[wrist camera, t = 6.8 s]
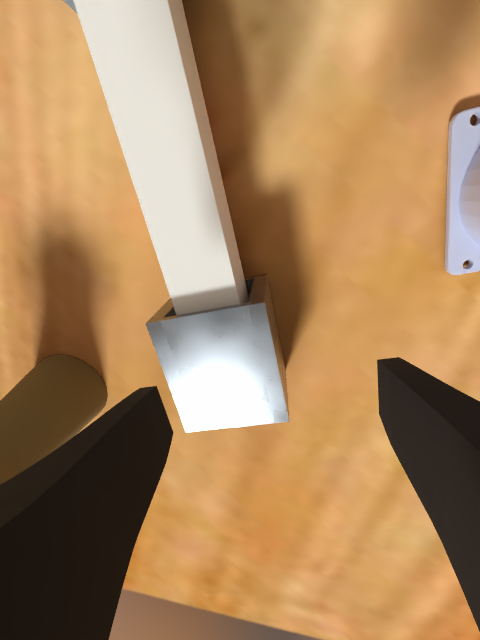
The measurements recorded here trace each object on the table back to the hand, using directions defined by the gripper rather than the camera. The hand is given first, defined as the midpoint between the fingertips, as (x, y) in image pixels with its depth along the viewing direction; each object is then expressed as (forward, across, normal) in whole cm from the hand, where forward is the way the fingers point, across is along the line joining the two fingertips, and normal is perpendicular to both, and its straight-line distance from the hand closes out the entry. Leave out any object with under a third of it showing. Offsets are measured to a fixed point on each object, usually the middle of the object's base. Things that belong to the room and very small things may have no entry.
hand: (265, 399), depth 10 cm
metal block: (+10, +3, +2) cm, 11 cm away
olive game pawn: (+11, +17, +5) cm, 20 cm away
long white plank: (+10, +3, -10) cm, 14 cm away
